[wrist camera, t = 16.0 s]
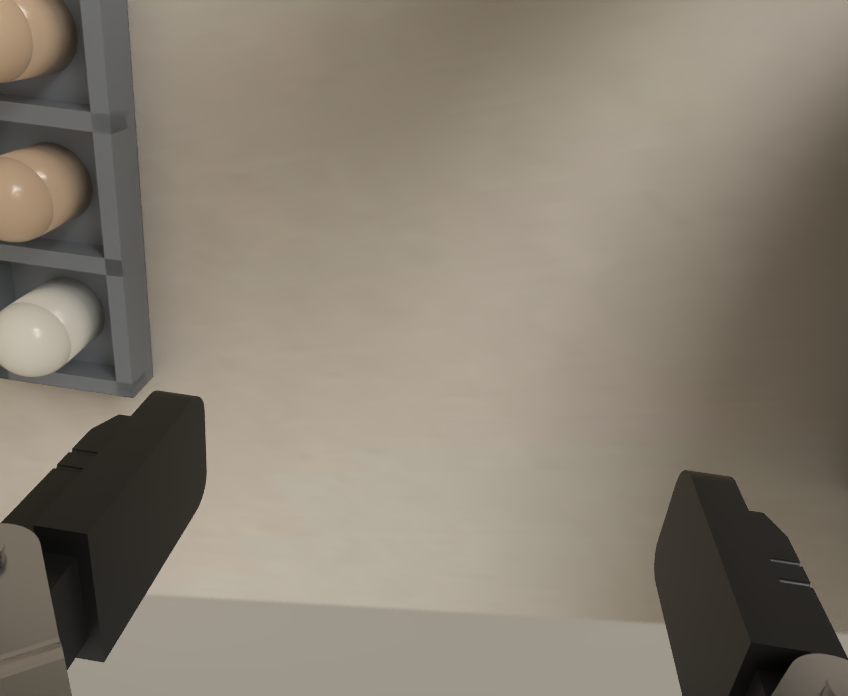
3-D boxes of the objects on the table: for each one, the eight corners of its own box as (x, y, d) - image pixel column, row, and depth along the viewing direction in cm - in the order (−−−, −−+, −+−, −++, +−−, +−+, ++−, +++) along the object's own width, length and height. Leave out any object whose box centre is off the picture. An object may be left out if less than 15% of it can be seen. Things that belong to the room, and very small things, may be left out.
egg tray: (-49, -79, 37) (-89, -83, 35) (122, -59, 37) (94, -62, 34) (20, 357, 49) (-7, 377, 46) (153, 376, 48) (133, 397, 46)
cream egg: (30, 273, 45) (-38, 313, 39) (100, 281, 44) (43, 323, 39) (41, 338, 47) (-22, 386, 41) (109, 346, 46) (55, 395, 41)
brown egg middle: (12, 137, 41) (-66, 160, 36) (88, 147, 41) (21, 172, 35) (23, 214, 43) (-50, 247, 37) (96, 224, 43) (34, 259, 37)
